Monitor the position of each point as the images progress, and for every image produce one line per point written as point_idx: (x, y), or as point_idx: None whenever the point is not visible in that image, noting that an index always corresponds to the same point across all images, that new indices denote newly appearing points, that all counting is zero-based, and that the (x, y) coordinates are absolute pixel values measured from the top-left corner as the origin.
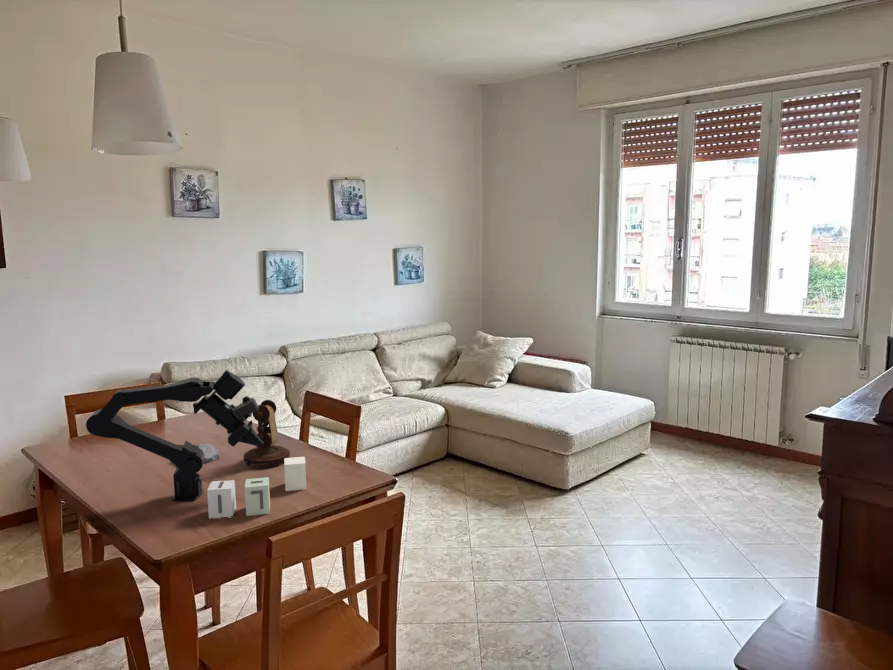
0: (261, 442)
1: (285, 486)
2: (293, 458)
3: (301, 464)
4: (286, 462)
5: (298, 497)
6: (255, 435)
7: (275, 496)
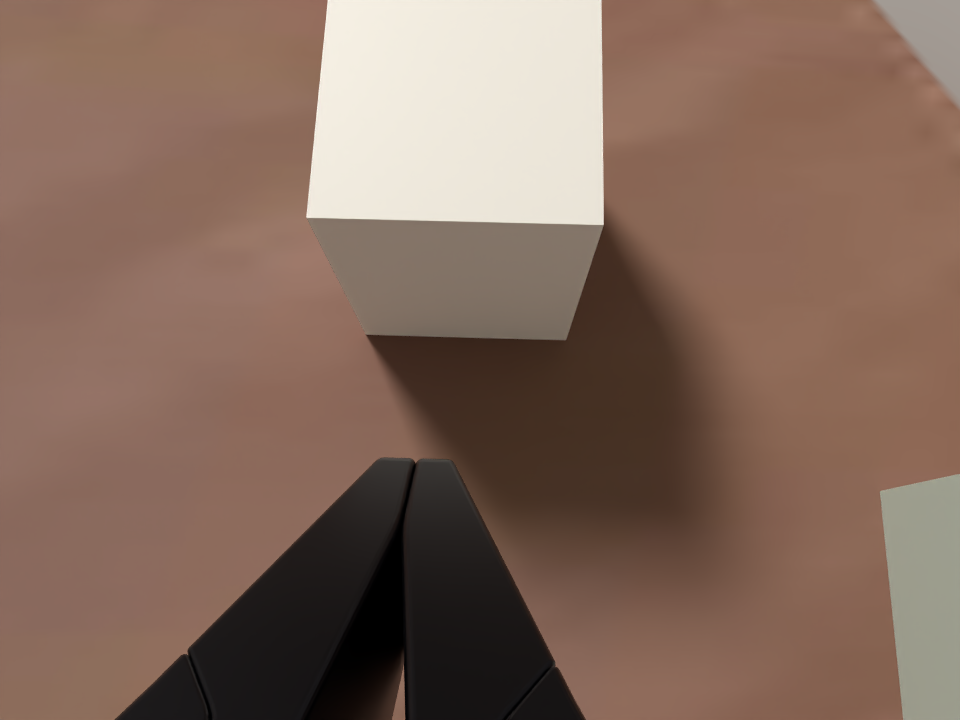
0: (468, 502)
1: (571, 323)
2: (363, 102)
3: (601, 28)
4: (504, 194)
5: (751, 234)
6: (541, 710)
7: (681, 435)
